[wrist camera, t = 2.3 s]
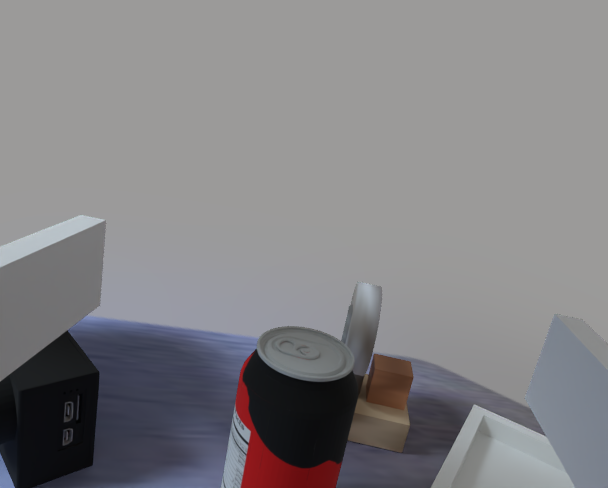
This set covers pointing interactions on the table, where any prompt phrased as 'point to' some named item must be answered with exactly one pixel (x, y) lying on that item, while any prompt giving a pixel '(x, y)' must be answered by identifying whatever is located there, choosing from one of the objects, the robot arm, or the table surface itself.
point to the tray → (500, 456)
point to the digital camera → (49, 414)
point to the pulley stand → (376, 377)
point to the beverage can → (292, 412)
